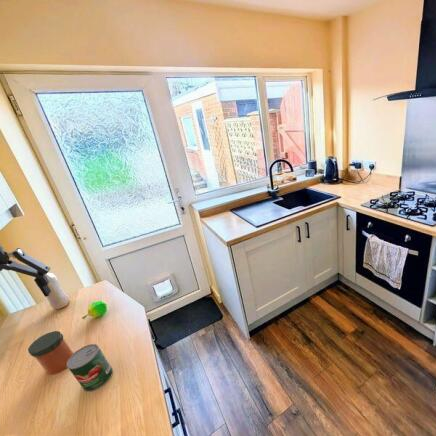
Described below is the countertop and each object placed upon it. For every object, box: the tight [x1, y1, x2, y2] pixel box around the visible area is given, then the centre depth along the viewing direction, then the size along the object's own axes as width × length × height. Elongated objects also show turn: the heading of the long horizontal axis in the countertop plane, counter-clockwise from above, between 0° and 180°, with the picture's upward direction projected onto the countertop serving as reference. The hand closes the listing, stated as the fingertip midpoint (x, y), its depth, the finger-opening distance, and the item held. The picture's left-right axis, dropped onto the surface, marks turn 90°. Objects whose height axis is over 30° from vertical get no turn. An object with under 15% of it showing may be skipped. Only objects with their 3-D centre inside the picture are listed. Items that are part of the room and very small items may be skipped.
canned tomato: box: [67, 343, 114, 393], centre depth 75 cm, size 8×8×11 cm
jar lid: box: [27, 330, 64, 358], centre depth 80 cm, size 8×8×2 cm
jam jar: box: [34, 338, 75, 376], centre depth 82 cm, size 8×8×11 cm
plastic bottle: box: [35, 272, 71, 310], centre depth 108 cm, size 6×7×20 cm
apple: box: [81, 300, 108, 321], centre depth 102 cm, size 7×6×9 cm
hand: (19, 303), depth 74 cm, fingers open, 13 cm apart
